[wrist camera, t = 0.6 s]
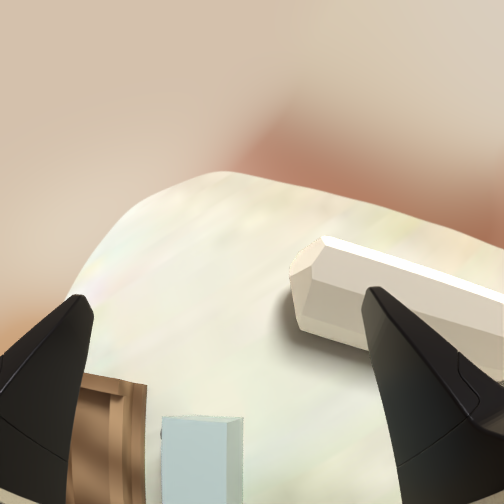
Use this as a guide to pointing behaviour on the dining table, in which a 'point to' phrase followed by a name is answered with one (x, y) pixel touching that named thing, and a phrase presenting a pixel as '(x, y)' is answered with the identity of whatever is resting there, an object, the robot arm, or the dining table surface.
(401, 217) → the dining table surface
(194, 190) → the dining table surface
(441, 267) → the dining table surface
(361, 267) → the cream bevelled bar
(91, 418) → the wooden tray
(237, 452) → the pale blue block
